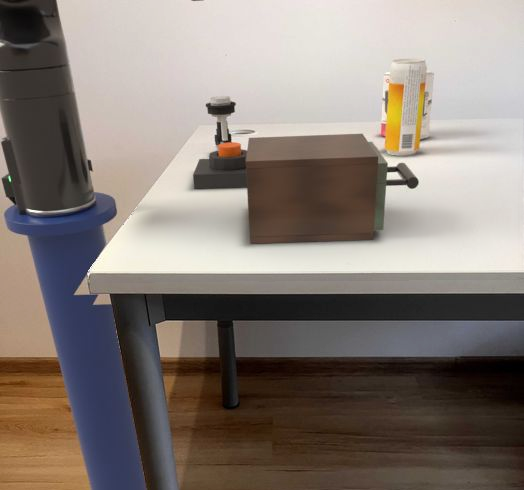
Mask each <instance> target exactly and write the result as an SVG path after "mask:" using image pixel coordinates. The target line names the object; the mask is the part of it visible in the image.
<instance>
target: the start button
mask: <svg viewBox="0 0 524 490" xmlns="http://www.w3.org/2000/svg"><path fill="white" fill-rule="evenodd" d="M241 149H242V144H241V143H240V142H233V141H231V142H228V143H222V144H219V145H218V154H219V156H221V157H234V156H240V155H241Z"/></svg>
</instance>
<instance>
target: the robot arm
mask: <svg viewBox="0 0 524 490" xmlns="http://www.w3.org/2000/svg"><path fill="white" fill-rule="evenodd" d="M191 1H192V2H198V1H200V2H201V1H203V0H191ZM62 24H63V23H62V20H61V16H60V10H59V6H58V0H0V117H1V122H2V125H3V129H4V133H5V136H3V137H2V138H1V139H0V145H1V149H2V153H3V156H4V161H5V164H6V169H7V174H5V175H4V176H2V177H1V184H2V186H3V191H4V194H5V198H8V200H10V202H12V204H13V205H14V204H15V205H17V208H18V212H19V215H29V216H33V217H41V218H53V217H63V216H69V215H74V214H78V213H81V212H84V211H86V210H89V209H91V208H92V207H94V206H95V205H96V198H95V195H94V192H95V191H94V186H93V182H92V176H91V172H94V170H93V163H92V159H91V160H90V159H88V154H87V148H86V143H85V142H86V141H85V138H84V132H83V127H82V122H81V116H80V110H79V104H78V100H77V95H76V88H75V84H74V83H75V82H74V78H73V73H72V67H71V64H70V57H69V51H68V45H67V40H66V37H65V34H64V33H65V32H64V28H63V25H62Z"/></svg>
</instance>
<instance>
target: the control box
mask: <svg viewBox="0 0 524 490" xmlns="http://www.w3.org/2000/svg"><path fill="white" fill-rule="evenodd" d="M246 156H247V149H242V148H241V155H240V156H234V157H221V156H219V154H218V151H215V150H214V151H212V152H210V153H209V154H208V158H199V159H198V161H197V164H196V166H195V168H194V172H193V173H192V176H193V177H192V178H193V189H194V190H201V189H202V190H203V189H205V190H206V189H229V188H230V189H231V188H232V189H233V188H247V176H246Z"/></svg>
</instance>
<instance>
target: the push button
mask: <svg viewBox="0 0 524 490" xmlns="http://www.w3.org/2000/svg"><path fill="white" fill-rule="evenodd" d="M209 99H210V101H209V102H207V103H205V107H206V110H207V114H208V115H211V117H212V118H216V129H215V130H216V134H214V144H215V147H214V149H215V150H214V152H215V151H218V145H219V144H222V143H228V142H233V141H232V134H231V133H230V129H229V128H228V127H229V126H228V120H227V118H228V117H230V116H232V114H233V113H236V109H235V108H236V107H235V106H237V103H236V102H235V101H232V100H231V96H228V95H219V96H212V97H210V98H209Z"/></svg>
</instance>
